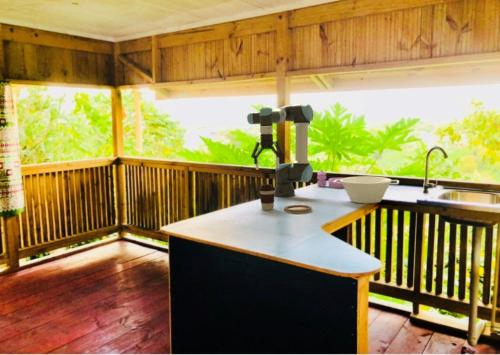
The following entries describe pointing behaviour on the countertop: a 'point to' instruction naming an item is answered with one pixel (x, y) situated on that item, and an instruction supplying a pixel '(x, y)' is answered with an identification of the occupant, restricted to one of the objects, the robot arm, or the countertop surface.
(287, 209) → the round tray
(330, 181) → the container set
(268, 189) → the coffee cup
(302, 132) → the robot arm
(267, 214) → the countertop surface
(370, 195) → the pot
